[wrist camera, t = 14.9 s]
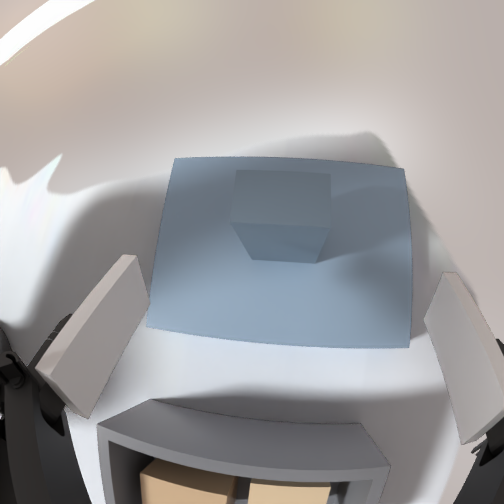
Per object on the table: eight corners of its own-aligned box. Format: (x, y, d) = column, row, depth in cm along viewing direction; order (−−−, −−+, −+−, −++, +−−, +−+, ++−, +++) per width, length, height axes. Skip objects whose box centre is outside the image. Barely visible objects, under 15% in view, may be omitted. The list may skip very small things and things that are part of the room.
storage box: (151, 500, 21) (114, 540, 12) (149, 398, 24) (96, 423, 15) (332, 526, 18) (341, 578, 9) (360, 423, 21) (391, 465, 12)
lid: (159, 326, 25) (78, 325, 14) (183, 171, 29) (134, 99, 18) (397, 345, 22) (470, 358, 11) (395, 181, 26) (441, 109, 14)
